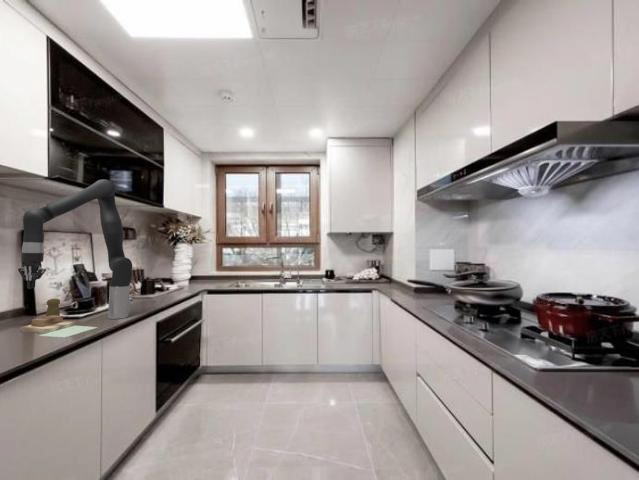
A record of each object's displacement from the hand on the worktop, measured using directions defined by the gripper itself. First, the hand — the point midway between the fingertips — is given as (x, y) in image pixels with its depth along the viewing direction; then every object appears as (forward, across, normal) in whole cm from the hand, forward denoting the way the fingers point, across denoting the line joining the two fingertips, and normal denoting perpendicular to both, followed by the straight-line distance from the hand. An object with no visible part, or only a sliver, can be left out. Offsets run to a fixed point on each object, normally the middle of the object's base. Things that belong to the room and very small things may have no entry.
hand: (30, 288), depth 137 cm
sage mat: (+18, -25, +2) cm, 31 cm away
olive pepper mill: (+18, +2, -13) cm, 22 cm away
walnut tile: (+15, -10, 0) cm, 18 cm away
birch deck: (+18, -11, 0) cm, 21 cm away
